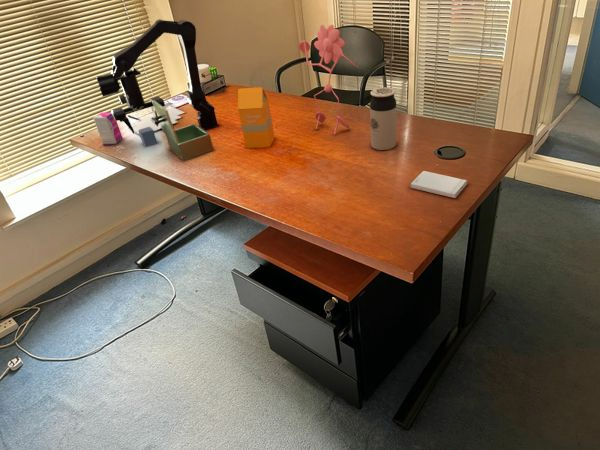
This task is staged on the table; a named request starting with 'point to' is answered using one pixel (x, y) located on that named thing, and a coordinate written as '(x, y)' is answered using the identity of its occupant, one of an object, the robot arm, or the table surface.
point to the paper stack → (147, 119)
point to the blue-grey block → (147, 136)
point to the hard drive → (439, 184)
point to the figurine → (327, 61)
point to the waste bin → (190, 142)
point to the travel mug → (383, 118)
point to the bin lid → (164, 121)
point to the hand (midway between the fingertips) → (145, 129)
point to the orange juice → (255, 117)
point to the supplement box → (108, 128)
